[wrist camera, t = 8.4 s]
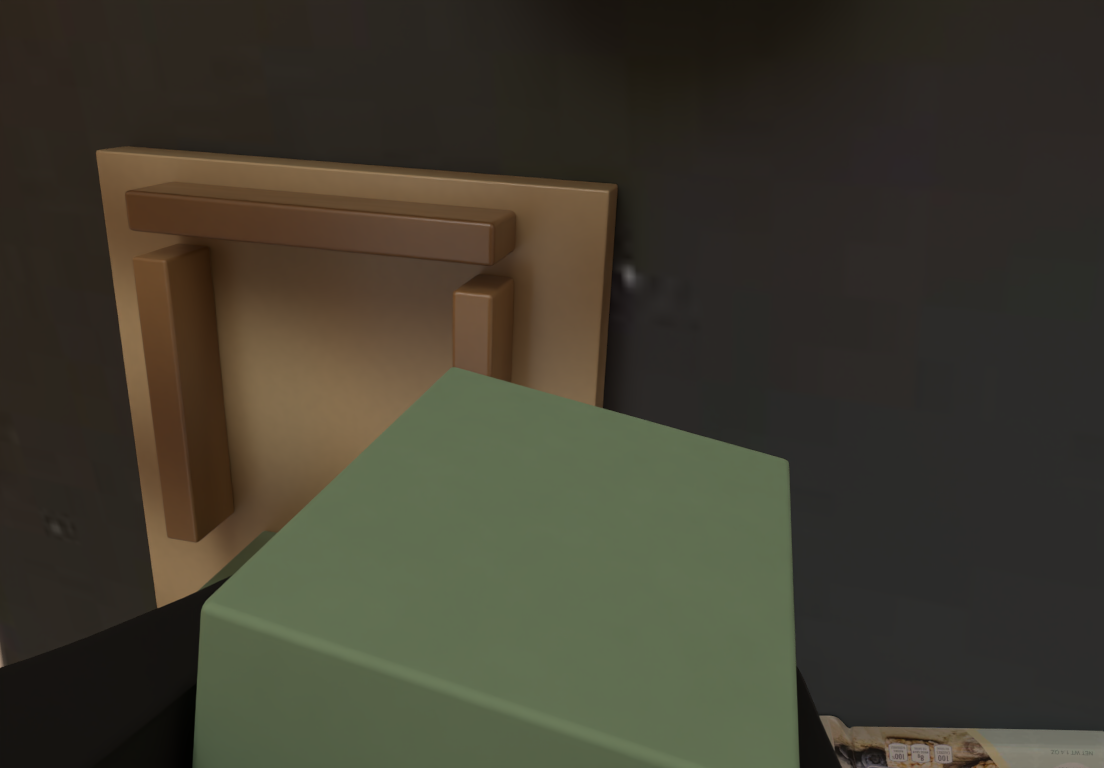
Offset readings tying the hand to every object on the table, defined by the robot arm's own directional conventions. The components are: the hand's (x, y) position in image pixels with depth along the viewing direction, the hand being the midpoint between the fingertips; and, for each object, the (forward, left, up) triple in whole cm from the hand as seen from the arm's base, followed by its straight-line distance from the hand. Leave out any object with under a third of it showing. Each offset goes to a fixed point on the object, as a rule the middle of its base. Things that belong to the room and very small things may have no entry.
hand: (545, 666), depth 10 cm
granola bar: (-11, -2, -10) cm, 15 cm away
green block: (0, 0, -1) cm, 1 cm away
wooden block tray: (+1, +8, -10) cm, 12 cm away
